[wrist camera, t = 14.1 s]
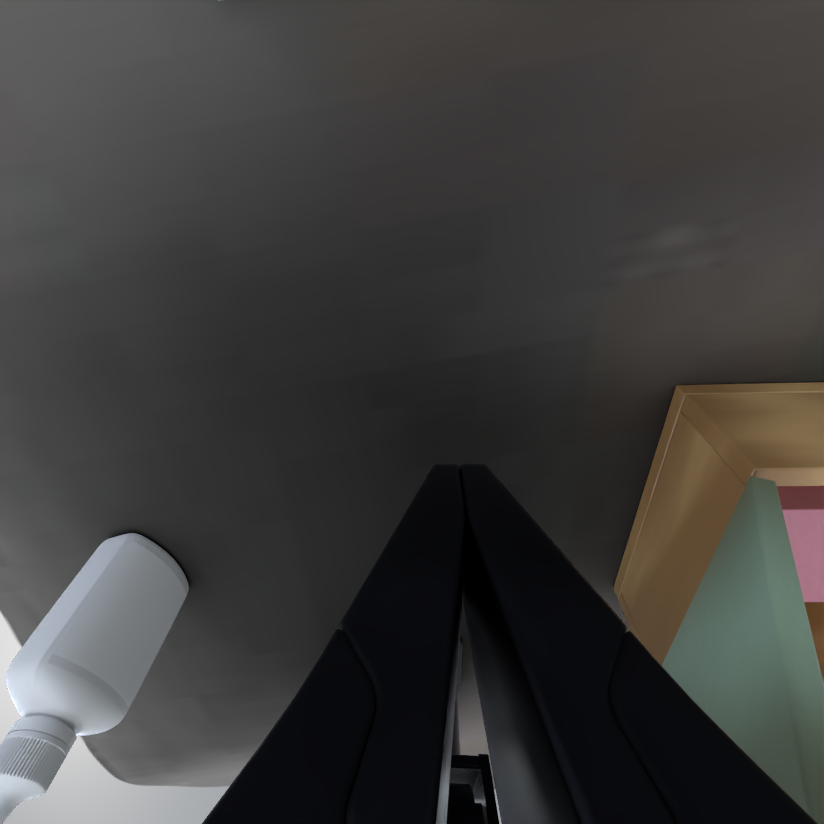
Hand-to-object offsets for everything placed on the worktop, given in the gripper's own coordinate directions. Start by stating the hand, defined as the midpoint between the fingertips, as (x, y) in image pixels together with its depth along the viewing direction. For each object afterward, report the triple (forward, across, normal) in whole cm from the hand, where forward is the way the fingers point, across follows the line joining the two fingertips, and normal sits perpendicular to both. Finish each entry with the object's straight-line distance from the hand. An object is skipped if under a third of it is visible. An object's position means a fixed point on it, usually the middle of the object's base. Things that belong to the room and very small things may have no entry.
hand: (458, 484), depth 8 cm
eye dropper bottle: (+12, +17, +16) cm, 26 cm away
